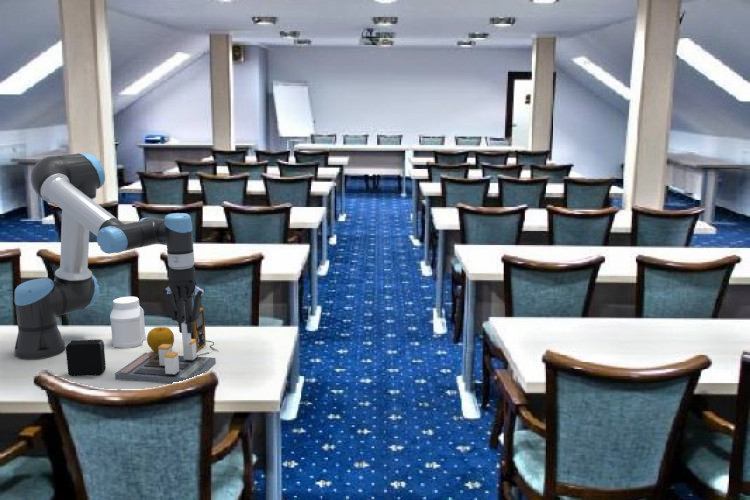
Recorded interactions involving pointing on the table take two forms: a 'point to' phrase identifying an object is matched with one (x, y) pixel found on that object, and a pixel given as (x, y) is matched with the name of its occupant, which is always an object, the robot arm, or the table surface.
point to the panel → (163, 369)
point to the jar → (127, 323)
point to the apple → (159, 338)
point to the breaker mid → (164, 352)
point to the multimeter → (200, 331)
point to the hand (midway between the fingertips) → (187, 343)
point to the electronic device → (85, 357)
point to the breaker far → (190, 350)
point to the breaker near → (171, 363)
